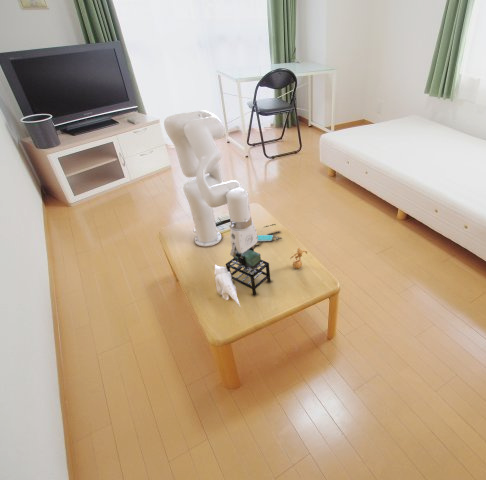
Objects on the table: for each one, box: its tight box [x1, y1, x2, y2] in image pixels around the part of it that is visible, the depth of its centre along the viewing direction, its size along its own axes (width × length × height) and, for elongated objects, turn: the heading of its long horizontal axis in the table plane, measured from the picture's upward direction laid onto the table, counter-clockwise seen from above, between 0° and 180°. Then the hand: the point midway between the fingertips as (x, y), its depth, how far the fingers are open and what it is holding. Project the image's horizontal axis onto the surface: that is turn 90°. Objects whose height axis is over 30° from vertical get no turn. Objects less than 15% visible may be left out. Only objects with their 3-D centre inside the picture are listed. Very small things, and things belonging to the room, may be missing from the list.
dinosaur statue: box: [213, 264, 241, 307], centre depth 130 cm, size 7×24×11 cm, turn 35°
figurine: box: [289, 247, 308, 270], centre depth 144 cm, size 8×6×12 cm
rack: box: [225, 257, 272, 297], centre depth 137 cm, size 14×10×10 cm
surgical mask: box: [255, 223, 283, 247], centre depth 164 cm, size 21×4×10 cm
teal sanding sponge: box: [232, 249, 262, 269], centre depth 133 cm, size 11×4×5 cm, turn 57°
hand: (246, 260), depth 133 cm, fingers closed on teal sanding sponge, 4 cm apart
